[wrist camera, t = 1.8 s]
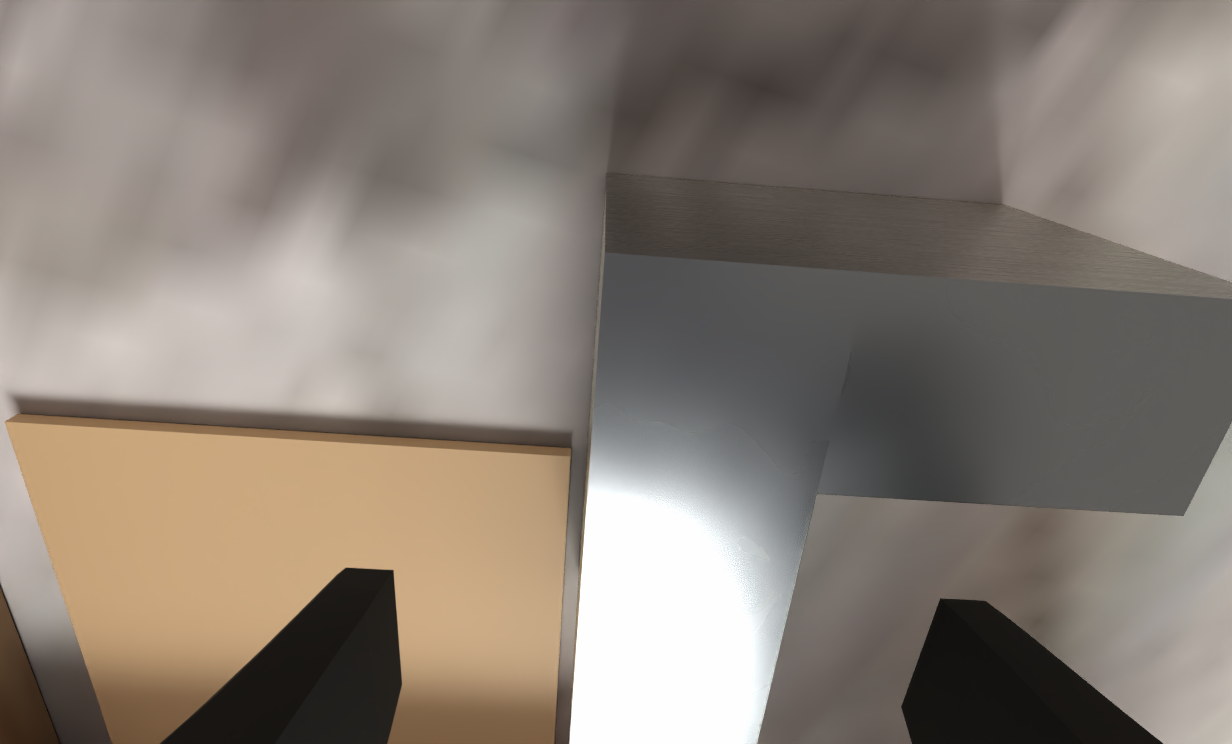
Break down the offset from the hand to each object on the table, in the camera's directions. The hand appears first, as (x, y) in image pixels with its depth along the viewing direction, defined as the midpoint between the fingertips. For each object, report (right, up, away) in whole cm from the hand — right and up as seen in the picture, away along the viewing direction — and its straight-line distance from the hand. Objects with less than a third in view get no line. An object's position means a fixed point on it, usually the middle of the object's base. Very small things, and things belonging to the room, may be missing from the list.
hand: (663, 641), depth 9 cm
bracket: (+2, +3, +3) cm, 5 cm away
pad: (-7, -1, +5) cm, 9 cm away
